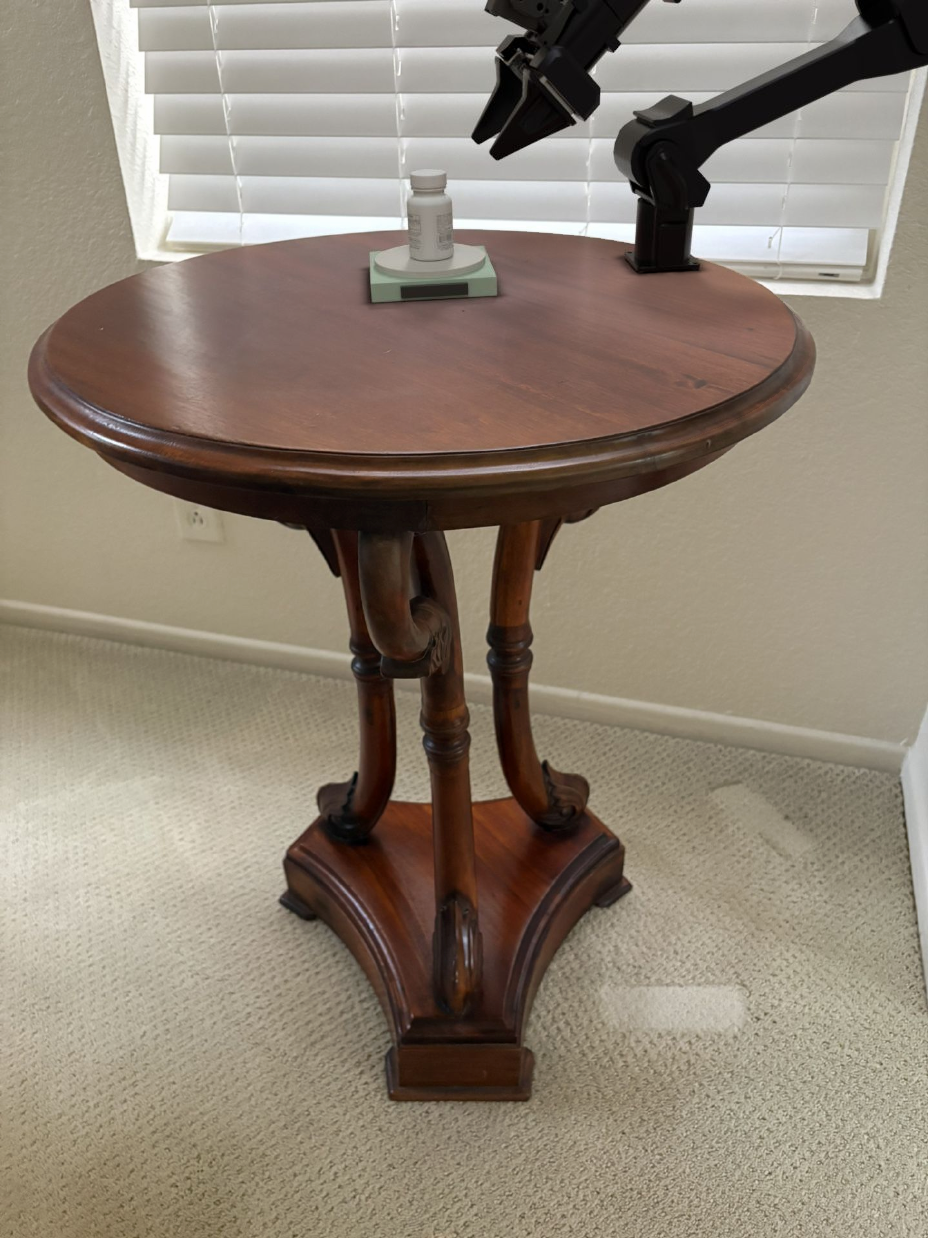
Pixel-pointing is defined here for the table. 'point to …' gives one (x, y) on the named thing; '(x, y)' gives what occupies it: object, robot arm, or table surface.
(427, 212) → the pill bottle
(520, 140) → the robot arm
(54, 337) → the table surface
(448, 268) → the scale
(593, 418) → the table surface
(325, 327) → the table surface
